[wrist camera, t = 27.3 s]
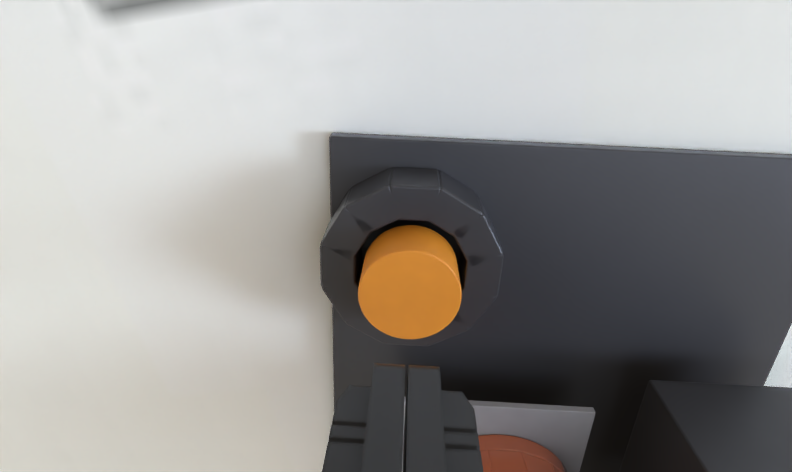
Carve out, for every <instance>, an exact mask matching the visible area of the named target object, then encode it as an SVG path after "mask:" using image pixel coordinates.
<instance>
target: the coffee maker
mask: <svg viewBox="0 0 792 472" xmlns="http://www.w3.org/2000/svg"><path fill="white" fill-rule="evenodd" d="M468 401H469V402H470V404H471V405H472V407H473V408H474V411H475V417H476V424H477V433H478V436H479V435H490V434H498V435H511V436H516V437H521V438H525V439H528V440H531V441H533V442H536V443H538V444H540V445H542V446H543V447H545V448H547V449H548V450H550V451H551V452H552V453H553V454H555V455H556V456H557V457H558V458H559V460H560V461H561V462H562V463H563V465H564V466H565V468H566V469H567V472H579V471H580V468H581V464H582V460H583V457H584V453H585V449H586V446H587V442H588V439H589V435H590V431H591V428H592V424H593V421H594V417H595V410H594V408H593V407H577V406H560V405H543V404H526V403H508V402H491V401H474V400H468ZM405 404H406V397H405V396H404V420H405ZM403 443H404V429H403ZM402 472H403V461H402ZM619 472H792V388H785V387H767V386H750V385H732V384H714V383H697V382H679V381H661V380H649V382H648V385H647V388H646V391H645V394H644V397H643V400H642V403H641V406H640V409H639V412H638V415H637V418H636V422H635V425H634V428H633V431H632V434H631V437H630V440H629V443H628V446H627V449H626V452H625V455H624V458H623V462H622V465H621V468H620V471H619Z"/></svg>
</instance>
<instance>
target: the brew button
mask: <svg viewBox="0 0 792 472" xmlns="http://www.w3.org/2000/svg"><path fill="white" fill-rule="evenodd" d="M461 300H462V291H461V284H460V278H459V271H458V265H457V259H456V255H455V253H454V250H453V248H452V247H451V245H450V244H449V243H448V241H447V240H446V239H445V238H444V237H443V236H441V235H440V234H438V233H437V232H435V231H433V230H431V229H429V228H426V227H422V226H417V225H403V226H398V227H394V228H391V229H389V230H387V231H385V232H383V233H382V234H380V235H379V236H378V237H377V238H376V239H375V240H374V241H373V242H372V243H371V245H370V246H369V248H368V250H367V252H366V255H365V259H364V263H363V268H362V273H361V277H360V282H359V287H358V301H359V305H360V308H361V310H362V312H363V314H364V316H365V317H366V319H367V320H368V321H369V322H370V323H371V324H372V325H373V326H374V327H375V328H377V329H378V330H380V331H381V332H383V333H385V334H387V335H390V336H392V337H396V338H401V339H420V338H425V337H428V336H431V335H434V334H436V333H438V332H439V331H441V330H443V329H444V328H445V327H446V326H448V325H449V324H450V323H451V321H452V320H453V319H454V317H455V316H456V314H457V312H458V311H459V308H460V305H461Z"/></svg>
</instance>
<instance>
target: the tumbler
mask: <svg viewBox="0 0 792 472" xmlns="http://www.w3.org/2000/svg"><path fill="white" fill-rule="evenodd" d="M478 438H479V445H480V451H481V458H482V465H483V472H567V469H566V468H565V466H564V465H563V463H562V462H561V461H560V460H559V458H558V457H557V456H556V455H555V454H553V453H552V452H551V451H550V450H548V449H547V448H545V447H543V446H542V445H540V444H538V443H536V442H533V441H531V440H528V439H525V438H521V437H516V436H511V435H498V434H490V435H479V436H478Z"/></svg>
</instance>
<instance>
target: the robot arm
mask: <svg viewBox="0 0 792 472" xmlns="http://www.w3.org/2000/svg"><path fill="white" fill-rule="evenodd" d="M404 396H405V365H398V364H381V363H374V367H373V375H372V384H371V386H355V385H349V386H348V387H347V389H346V390H345V391H344V393H343V394H342V395H341V396H340V398H339V399H338V400H337V402H336V407H335V411H334V416H333V422H332V426H331V431H330V436H329V442H328V446H327V450H326V455H325V460H324V465H323V470H322V472H402V461H403V472H483V465H482V458H481V451H480V445H479V438H478V433H477V424H476V417H475V411H474V408H473V407H472V405H471V404H470V402H469V401H468V399H467V398H466V396H465V395H464V393H463V392H462V391H444V390H441V376H440V367H436V366H418V365H408V372H407V388H406V404H405V420H404ZM403 429H404V443H403Z"/></svg>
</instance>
